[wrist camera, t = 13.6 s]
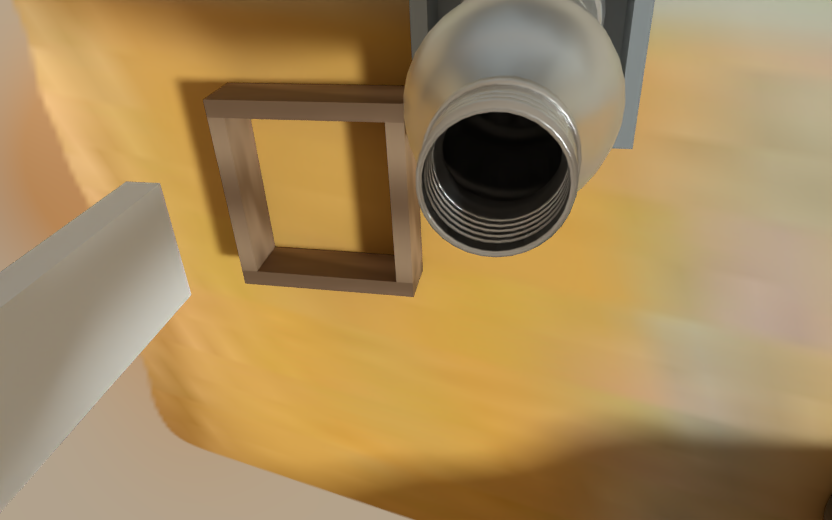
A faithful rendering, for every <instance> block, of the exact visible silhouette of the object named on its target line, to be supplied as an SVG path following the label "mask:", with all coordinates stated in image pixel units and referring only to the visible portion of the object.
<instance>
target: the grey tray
mask: <svg viewBox="0 0 832 520" xmlns="http://www.w3.org/2000/svg"><path fill="white" fill-rule="evenodd" d="M460 2H461V0H409V6H410V28H411V49H412V60H413V57H414V55H415V52H416V51H417V49H418V48H419V46H420V44H421V43H422V41H423V40H424V38H425V36H426V35H427V33H428V32H429V31H430V30H431V29H432V28H433V27H434V26H435V25H436V24H437V23H438V22H439V21H440V19H441V18H442V17H443V16H445V15H446V14H447V13H448V12H450V11H451V10H452V9H454V8H455V7H457V6H458V5H459V4H460ZM654 2H655V0H605V18H604V25H603V28H604V29H605V30H606V32H607V34H608V36H609V37H610V39H611V41H612V43H613V46H614V48H615V50H616V52H617V54H618V56H619V58H620V62H621V66H622V71H623V75H624V79H625V108H624V113H623V119H622V124H621V127H620V130H619V133H618V135H617V138H616V140H615V143H614V145H613V147H612V148H619V149H632V148H633V141H634V135H635V128H636V121H637V115H638V108H639V102H640V95H641V88H642V82H643V75H644V68H645V62H646V55H647V48H648V42H649V35H650V28H651V22H652V15H653V8H654Z"/></svg>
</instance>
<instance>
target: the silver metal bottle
mask: <svg viewBox="0 0 832 520" xmlns="http://www.w3.org/2000/svg"><path fill="white" fill-rule="evenodd" d="M604 18H605V0H461V2H460V4H459V5H458V6H457V7H455V8H454V9H452V10H451V11H450V12H448V13H447V14H446V15H445V16H443V17H442V18H441V19H440V21H439V22H438V23H437V24H436V25H435V26H434V27H433V28H432V29H431V30H430V31H429V32H428V33H427V35H426V36H425V38H424V40H423V41H422V43H421V44H420V46H419V48H418V49H417V51H416V52H415V55H414V57H413V60H412V62H411V65H410V68H409V70H408V73H407V77H406V83H405V89H404V94H403V105H404V121H405V127H406V132H407V137H408V141H409V146H410V148H411V151H412V153H413V155H414V158H415V160H416V163H417V167H416V193H417V198H418V202H419V205H420V207H421V210H422V212H423V214H424V216H425V218H426V219H427V221H428V222H429V224H430V225H431V227H432V228H433V229H434V230H435V231H436V232H437V233H438V234H439V235H440V236H441V237H442V238H443V239H445V240H446V241H447V242H449V243H450V244H452V245H453V246H455V247H457V248H459V249H461V250H464V251H466V252H468V253H472V254H476V255H480V256H488V257H504V256H513V255H516V254H520V253H524V252H527V251H529V250H531V249H533V248H535V247H537V246H539V245H541V244H542V243H543V242H545V241H546V240H548V239H549V238H550V237H552V236H553V235H554V234H555V232H556V231H557V230H558V229H559V228H560V227H561V226H562V225H563V223H564V221H565V220H566V218H567V217H568V215H569V214H570V211H571V209H572V206H573V203H574V201H575V198H576V195H577V191H579V190H580V189H581V188H582V187H583V186H584V185H585V184H586V183H587V182H588V181H589V180H590V179H591V178H592V177H593V176H594V174H595V173H596V172H597V171H598V169H599V168H600V166H601V165H602V163H603V161H604V160H605V158H606V157H607V155H608V154H609V152H610V150H611V149H612V147H613V145H614V143H615V140H616V138H617V135H618V133H619V130H620V127H621V124H622V119H623V113H624V108H625V79H624V75H623V71H622V66H621V62H620V58H619V56H618V54H617V52H616V50H615V48H614V46H613V43H612V41H611V39H610V37H609V36H608V34H607V32H606V30H605V29H604V28H603V25H604Z"/></svg>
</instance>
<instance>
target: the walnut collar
mask: <svg viewBox="0 0 832 520" xmlns="http://www.w3.org/2000/svg"><path fill="white" fill-rule="evenodd" d="M404 89H405V86H392V85H329V84H267V83H227V84H225V85H224V86H222V87H221V88H219V89H218V90H216V91H215V92H213V93H212V94H210V95H209V96H208V97H206V98H205V99H203V102H204V106H205V111H206V115H207V119H208V124H209V128H210V132H211V137H212V141H213V145H214V150H215V154H216V158H217V163H218V167H219V171H220V176H221V180H222V184H223V189H224V193H225V197H226V202H227V206H228V210H229V215H230V219H231V223H232V228H233V232H234V236H235V241H236V245H237V249H238V254H239V258H240V262H241V267H242V271H243V275H244V280H245V283H247V284H259V285H272V286H284V287H296V288H309V289H321V290H334V291H346V292H359V293H371V294H383V295H396V296H408V297H414V294H415V291H416V288H417V285H418V282H419V279H420V277H421V274H422V271H423V265H422V243H421V221H420V205H419V202H418V198H417V193H416V167H417V163H416V160H415V158H414V155H413V153H412V151H411V148H410V146H409V141H408V137H407V132H406V127H405V121H404V105H403V94H404ZM251 119H278V120H315V121H351V122H385V132H386V146H387V159H388V173H389V187H390V200H391V214H392V227H393V241H394V255H387V254H372V253H358V252H343V251H328V250H314V249H299V248H284V247H275V243H274V238H273V233H272V228H271V222H270V217H269V212H268V207H267V202H266V196H265V191H264V186H263V181H262V176H261V170H260V165H259V160H258V155H257V150H256V144H255V139H254V134H253V129H252V124H251Z"/></svg>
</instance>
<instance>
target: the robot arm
mask: <svg viewBox="0 0 832 520" xmlns="http://www.w3.org/2000/svg"><path fill="white" fill-rule="evenodd" d="M190 296H191V292H190V288H189V285H188V281H187V278H186V274H185V271H184V267H183V263H182V260H181V256H180V253H179V249H178V246H177V242H176V239H175V235H174V231H173V228H172V224H171V221H170V217H169V214H168V210H167V207H166V203H165V199H164V196H163V192H162V189H161V185H160V183H145V182H125V183H124V184H122V185H121V186H119V187H118V188H117V189H115V190H114V191H112V192H111V193H110V194H108V195H107V196H106V197H104V198H103V199H101V200H100V201H99V202H97V203H96V204H94V205H93V206H92V207H90V208H89V209H87V210H86V211H85V212H83V213H82V214H80V215H79V216H78V217H76V218H75V219H73V220H72V221H71V222H69V223H68V224H67V225H65V226H64V227H62V228H61V229H60V230H58V231H57V232H56V233H54V234H53V235H51V236H50V237H48V238H47V239H46V240H44V241H43V242H41V243H40V244H39V245H37V246H36V247H35V248H33V249H32V250H30V251H29V252H27V253H26V254H25V255H23V256H22V257H20V258H19V259H18V260H16V261H15V262H13V263H12V264H11V265H9V266H8V267H6V268H5V269H4V270H2V271H1V272H0V513H1V511H2V510H3V509H4V508H5V507H6V506H7V505H8V503H9V502H10V501H11V500H12V499H13V498H14V496H15V495H16V494H17V493H18V492H19V491H20V490H21V488H22V487H23V486H24V485H25V484H26V483H27V482H28V481H29V479H30V478H31V477H32V476H33V475H34V474H35V473H36V471H37V470H38V469H39V468H40V467H41V466H42V465H43V463H44V462H45V461H46V460H47V459H48V458H49V457H50V456H51V454H52V453H53V452H54V451H55V450H56V449H57V448H58V446H59V445H60V444H61V443H62V442H63V441H64V440H65V438H66V437H67V436H68V435H69V434H70V432H71V431H72V430H73V429H74V428H75V427H76V426H77V425H78V423H79V422H80V421H81V420H82V419H83V418H84V417H85V416H86V414H87V413H88V412H89V411H90V410H91V409H92V407H93V406H94V405H95V404H96V403H97V402H98V401H99V399H100V398H101V397H102V396H103V395H104V394H105V393H106V392H107V390H108V389H109V388H110V387H111V386H112V385H113V384H114V382H115V381H116V380H117V379H118V378H119V377H120V376H121V374H122V373H123V372H124V371H125V370H126V369H127V367H128V366H129V365H130V364H131V363H132V362H133V361H134V360H135V358H136V357H137V356H138V355H139V354H140V353H141V352H142V350H143V349H144V348H145V347H146V346H147V345H148V344H149V342H150V341H151V340H152V339H153V338H154V337H155V336H156V334H157V333H158V332H159V331H160V330H161V329H162V328H163V326H164V325H165V324H166V323H167V322H168V321H169V320H170V318H171V317H172V316H173V315H174V314H175V313H176V312H177V310H178V309H179V308H180V307H181V306H182V305H183V304H184V302H185V301H186V300H187V299H188V298H189V297H190ZM824 520H832V496H831V497H830V499H829V501H828V503H827V505H826V508H825V512H824Z"/></svg>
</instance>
